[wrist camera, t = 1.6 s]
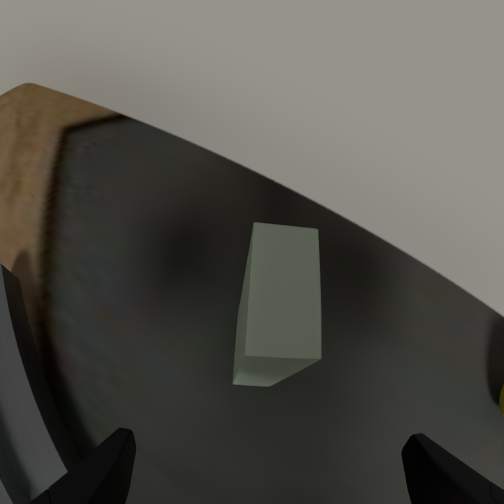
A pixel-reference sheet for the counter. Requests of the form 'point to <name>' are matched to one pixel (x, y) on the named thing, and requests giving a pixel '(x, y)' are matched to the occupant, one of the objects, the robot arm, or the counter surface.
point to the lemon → (501, 401)
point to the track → (26, 408)
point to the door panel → (278, 306)
